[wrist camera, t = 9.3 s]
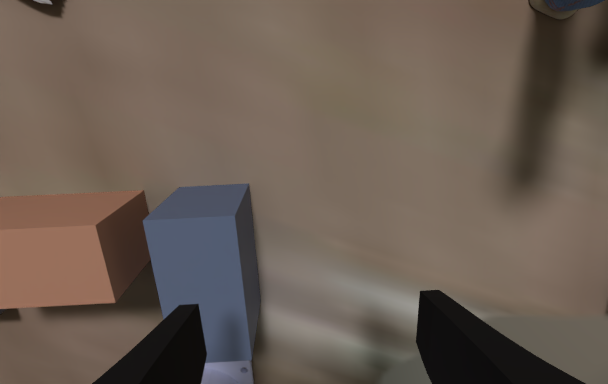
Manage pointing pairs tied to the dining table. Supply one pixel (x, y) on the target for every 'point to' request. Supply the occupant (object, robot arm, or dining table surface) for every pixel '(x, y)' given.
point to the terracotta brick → (70, 248)
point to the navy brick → (209, 264)
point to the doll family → (561, 7)
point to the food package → (44, 1)
